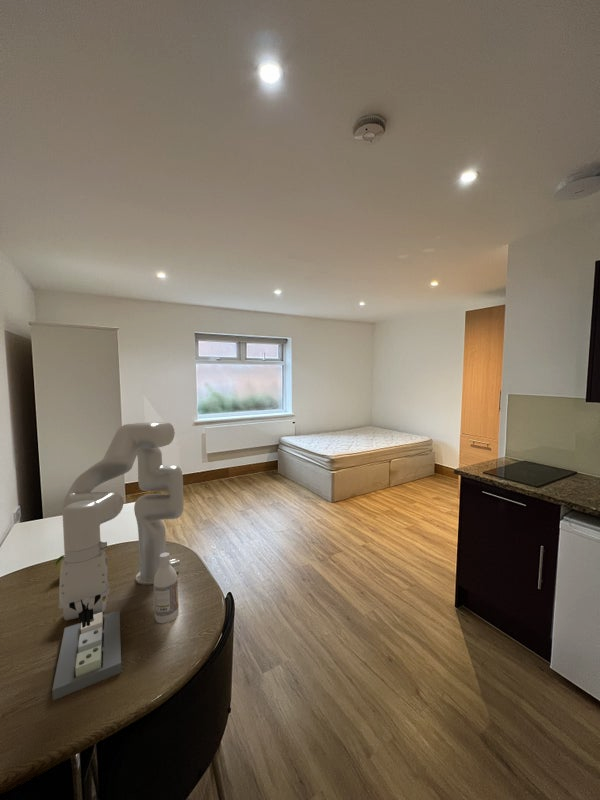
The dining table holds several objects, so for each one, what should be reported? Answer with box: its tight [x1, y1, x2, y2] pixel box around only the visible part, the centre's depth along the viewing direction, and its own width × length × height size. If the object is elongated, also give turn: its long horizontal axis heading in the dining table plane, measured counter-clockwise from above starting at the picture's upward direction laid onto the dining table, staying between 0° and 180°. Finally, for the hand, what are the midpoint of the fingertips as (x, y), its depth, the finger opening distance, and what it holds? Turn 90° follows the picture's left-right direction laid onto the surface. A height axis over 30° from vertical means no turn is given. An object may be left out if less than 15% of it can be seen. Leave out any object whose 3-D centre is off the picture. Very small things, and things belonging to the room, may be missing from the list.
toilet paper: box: [62, 595, 108, 622], centre depth 104 cm, size 10×10×10 cm
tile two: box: [78, 627, 103, 653], centre depth 88 cm, size 5×5×3 cm
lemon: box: [55, 554, 65, 574], centre depth 125 cm, size 7×6×10 cm
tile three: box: [75, 645, 103, 678], centre depth 82 cm, size 5×5×3 cm
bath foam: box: [153, 551, 180, 624], centre depth 101 cm, size 7×7×20 cm
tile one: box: [81, 612, 104, 634], centre depth 95 cm, size 5×5×3 cm
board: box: [51, 609, 122, 701], centre depth 88 cm, size 14×23×2 cm, turn 30°
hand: (86, 623), depth 81 cm, fingers closed
